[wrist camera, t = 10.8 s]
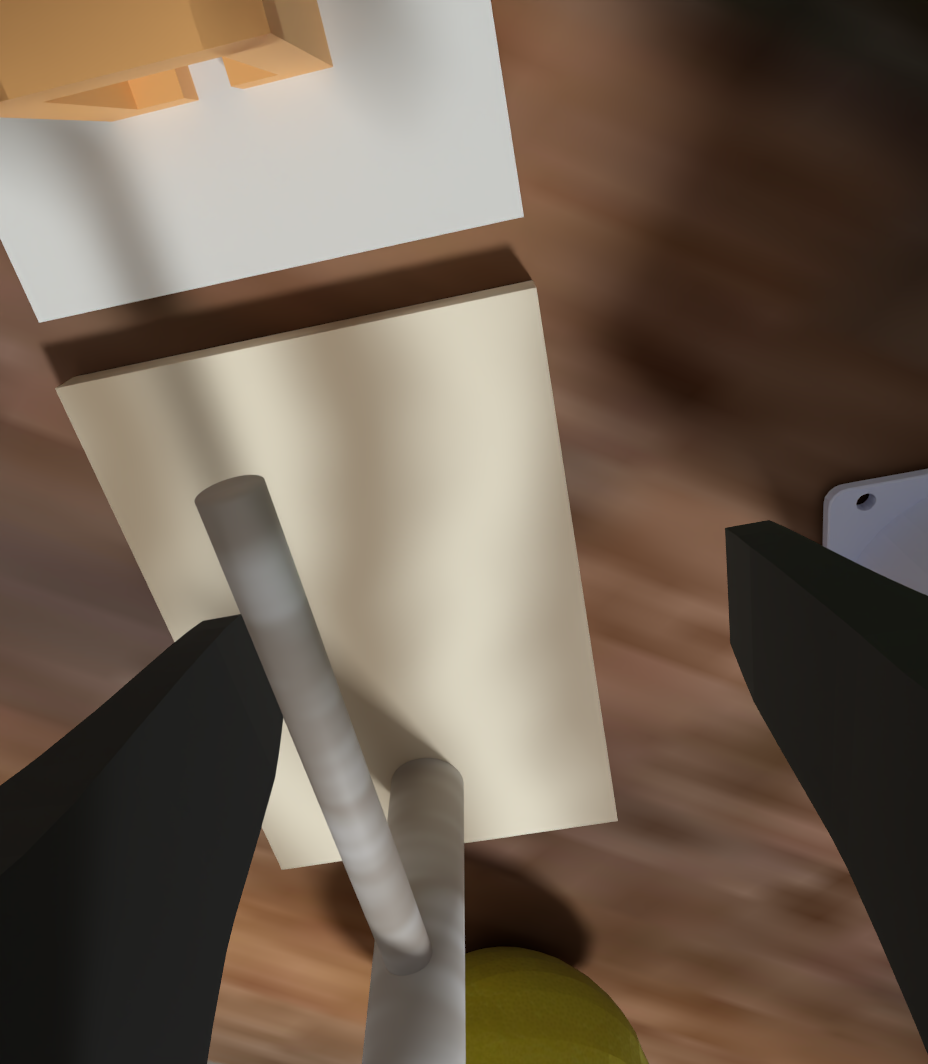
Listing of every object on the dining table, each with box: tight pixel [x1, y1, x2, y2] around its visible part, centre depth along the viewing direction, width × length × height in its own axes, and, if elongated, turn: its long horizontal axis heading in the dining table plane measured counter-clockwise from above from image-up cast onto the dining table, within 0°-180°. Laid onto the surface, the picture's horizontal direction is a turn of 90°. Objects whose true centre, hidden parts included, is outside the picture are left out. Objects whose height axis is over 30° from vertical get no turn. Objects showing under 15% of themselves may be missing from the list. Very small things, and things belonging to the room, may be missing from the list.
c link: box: [0, 0, 333, 122], centre depth 13 cm, size 5×2×6 cm, turn 102°
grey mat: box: [0, 0, 524, 323], centre depth 16 cm, size 12×9×1 cm
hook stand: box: [55, 280, 618, 1064], centre depth 19 cm, size 12×18×10 cm, turn 11°
